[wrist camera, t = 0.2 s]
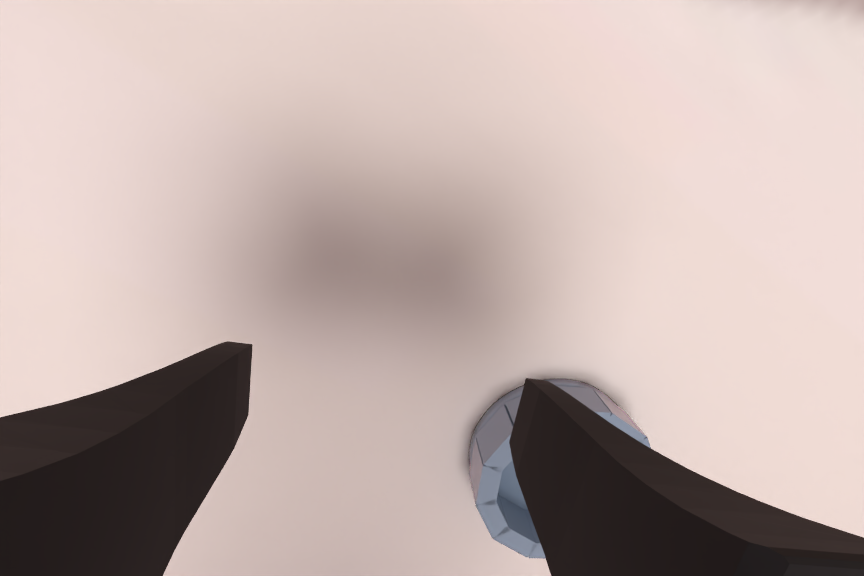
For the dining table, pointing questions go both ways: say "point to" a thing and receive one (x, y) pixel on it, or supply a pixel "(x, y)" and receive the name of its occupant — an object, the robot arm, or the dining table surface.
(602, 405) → the bowl
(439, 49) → the dining table surface
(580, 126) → the dining table surface
